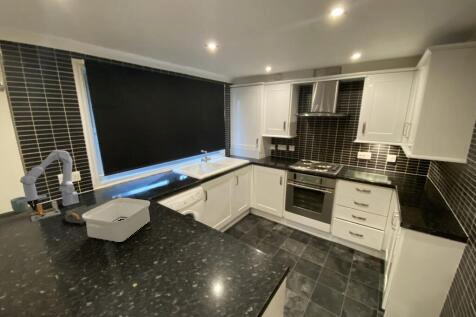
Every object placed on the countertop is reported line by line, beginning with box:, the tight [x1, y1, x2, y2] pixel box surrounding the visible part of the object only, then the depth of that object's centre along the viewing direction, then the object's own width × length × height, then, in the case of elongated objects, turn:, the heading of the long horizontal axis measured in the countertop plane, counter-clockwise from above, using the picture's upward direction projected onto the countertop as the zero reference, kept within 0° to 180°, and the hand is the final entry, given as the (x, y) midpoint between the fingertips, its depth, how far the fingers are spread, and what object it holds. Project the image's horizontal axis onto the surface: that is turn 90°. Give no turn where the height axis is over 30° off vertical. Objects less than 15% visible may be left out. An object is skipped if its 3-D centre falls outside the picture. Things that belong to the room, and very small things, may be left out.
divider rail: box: [30, 200, 59, 217], centre depth 138 cm, size 14×11×6 cm
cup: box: [10, 196, 29, 213], centre depth 141 cm, size 8×8×10 cm
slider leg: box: [36, 203, 44, 215], centre depth 137 cm, size 2×11×6 cm, turn 49°
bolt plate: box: [30, 209, 62, 222], centre depth 136 cm, size 14×8×1 cm, turn 139°
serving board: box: [64, 196, 122, 226], centre depth 142 cm, size 39×23×6 cm, turn 154°
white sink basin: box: [82, 197, 151, 243], centre depth 118 cm, size 34×29×15 cm
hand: (34, 210), depth 137 cm, fingers closed
